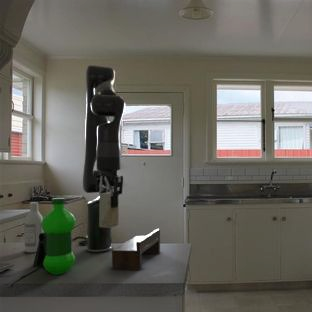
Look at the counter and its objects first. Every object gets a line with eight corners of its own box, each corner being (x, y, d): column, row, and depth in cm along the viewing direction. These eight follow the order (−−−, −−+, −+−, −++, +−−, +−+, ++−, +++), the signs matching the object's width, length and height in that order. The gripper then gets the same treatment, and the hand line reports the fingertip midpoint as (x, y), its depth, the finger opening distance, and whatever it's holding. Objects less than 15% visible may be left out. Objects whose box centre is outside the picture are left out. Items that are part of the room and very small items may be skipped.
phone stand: (33, 265, 131) (32, 232, 131) (47, 261, 137) (47, 229, 137) (51, 268, 128) (50, 234, 128) (65, 263, 133) (64, 231, 133)
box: (110, 228, 118) (110, 194, 118) (98, 227, 119) (98, 193, 119) (119, 224, 123) (119, 192, 123) (107, 224, 124) (107, 191, 124)
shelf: (112, 269, 127) (111, 241, 127) (136, 252, 149) (136, 228, 149) (139, 270, 126) (139, 242, 126) (160, 252, 148) (160, 229, 147)
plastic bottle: (35, 275, 121) (34, 200, 120) (58, 266, 131) (57, 196, 131) (60, 278, 118) (59, 200, 118) (82, 268, 128) (81, 196, 128)
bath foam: (39, 247, 157) (38, 201, 157) (47, 250, 153) (46, 202, 152) (22, 251, 152) (21, 202, 151) (29, 253, 147) (28, 204, 147)
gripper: (130, 155, 119) (131, 207, 119) (107, 155, 128) (108, 203, 129) (109, 156, 113) (109, 210, 114) (87, 155, 123) (87, 205, 123)
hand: (108, 206), depth 121 cm, fingers closed on box, 6 cm apart
